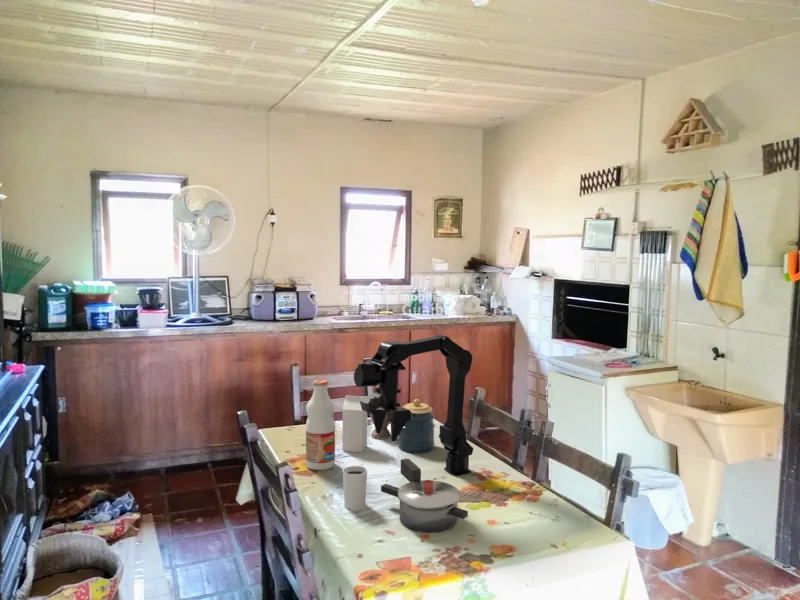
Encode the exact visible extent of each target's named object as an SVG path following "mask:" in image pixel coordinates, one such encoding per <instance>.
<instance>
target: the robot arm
mask: <svg viewBox="0 0 800 600" xmlns="http://www.w3.org/2000/svg"><path fill="white" fill-rule="evenodd" d="M435 351H439V352H440V354H441V355H442V356H443V357H445V365H446V366H445V367H446V370H447V372H448V374H449V381H448V383H449V385H448V397H447V398H448V400H447V414H446V421H445V423H444V424H441V425H439V435H438V438H439V441H440V443H441V445H442V446H443V447H444V450H446V451H447V453H446V458H445V460H446V461H445V467H444V471H446V472H448V473H449V474H452V475H453V476H460V475H464V474H469V473H472V470H471V469H470V468H469V466H470V465H469V464H470V463H469V461H470V457H469V456H472V455H473V452H474V447H473V446H472V445H471V444H470V443H469V442H468V439H467V438H468V437H467V431H466V427H465V426H464V422H463V419H464V401H465V387H466V377H467V375H468V374H469V373H470V370H471V368H472V364H473V354H472V353H471V352H470V351H469V350H467V349H464V348H463V347H462V346H460V345H459V344H457V343H456V342H454V341H453V340H452V339H451V337H449V336H446V335H443V334H436V335H434V336H431V337H430V336H428V337H426V338H420V339H415V340H414V339H413V340H408V341H392V340H391V341H389V340H386V341H383V342H381V343H380V344H379V346H378V347H377V351H376V353H374V355H373V357H372V358H371V360H370V361H369V362H366V363H365V362H358V364H357V367H355V370H354V373H353V381H354V384H355V386H356V387H358V388H363V387H375V389H374V392H373V393H372V394H369V395H366V396H363V397H364V398H362V399H360V400H359V401H360V404H361V408H362V410H363V411H366V412H367V414H369V413H371V415H372V417H373V421H374V424H373V426H374V430H375V429H376V433H380V431H381V429H382V425H383V422H384V418H385V415H386V412H387V416H388V419H387V421H388V422H389V423H390V424H389V425H390V434H391V437H390V438H391V442H393V443H394V442H396V441H397V439H399V434H400V432H401V430H402V429H403V427H404V426H405V424H406V423H407V422H409V420H411V419H412V412H411V411H410V410H409V409H406V408H404V407H403V406H401V403H400V402H398V396H399V394H401V393H402V392H401V391H402V390H401V388H399V377H400V371H405V370H407V368H406V367H405V365H403V364H402V362H403V361H405V360H407V359H408V358H409V357H411V356H415V355H420V354H425V353H426V354H427V353H430V352H435ZM378 384H379V387H376V386H377V385H378ZM371 415H370V416H371Z"/></svg>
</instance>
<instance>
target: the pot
mask: <svg viewBox="0 0 800 600" xmlns="http://www.w3.org/2000/svg"><path fill="white" fill-rule="evenodd" d="M399 488H400V487H397V486H393V485H390V484H387V483H384V484H382V485H380V492H381V493H384V494H387V495H390V496H393V497H396V498H398V490H399ZM468 515H469V511H468V510H465V509H462V508H460V507H458V502H457V503H456V504H455V505H453V506H450V507H447V508H443V509H435V510H426V509H418V508H413V507H410V506H407V505H405V504H403V503H402V502H401V501H400V500H399V522H400V524H401V525H402V526H404V527H405V528H406V529H409V530H412V531H413V532H418V533H424V534H425V533H427V534H435V533H442V532H446V531H449V530H451V529H452V528H454V527H455V526H456V525H457V522H458V519H462V520H464V519H466V518H468Z"/></svg>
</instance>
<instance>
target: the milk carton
mask: <svg viewBox="0 0 800 600" xmlns="http://www.w3.org/2000/svg"><path fill="white" fill-rule="evenodd" d="M364 397H365V396H359V395H358V396H357V395H345V397H344V402H343V405H342V428H341V429H342V434H341V436H342V437H341V439H342V441H341V442H342V444H341V445H342V446H341V447H342V448H341V449H342V451H343V452H351V453H352V452H354V453H362V452H363V451H364V450H365V449H366V448H367V446H368V413H367V412H366V411H363V410H362V408H361V404H360V401H359V400H360V399H362V398H364Z"/></svg>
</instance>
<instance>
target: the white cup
mask: <svg viewBox="0 0 800 600" xmlns="http://www.w3.org/2000/svg"><path fill="white" fill-rule="evenodd" d="M367 479H368V469H367V468H366V467H365V466H361V465H350V466H345V467H344V468H343V469H342V481H343V483H342V484H343V502H344V508H346V509H347V510H351V511H353V510H354V511H358V510H362V509H364V508H365V507H366V500H367V499H366V498H367V496H366V495H367Z"/></svg>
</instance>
